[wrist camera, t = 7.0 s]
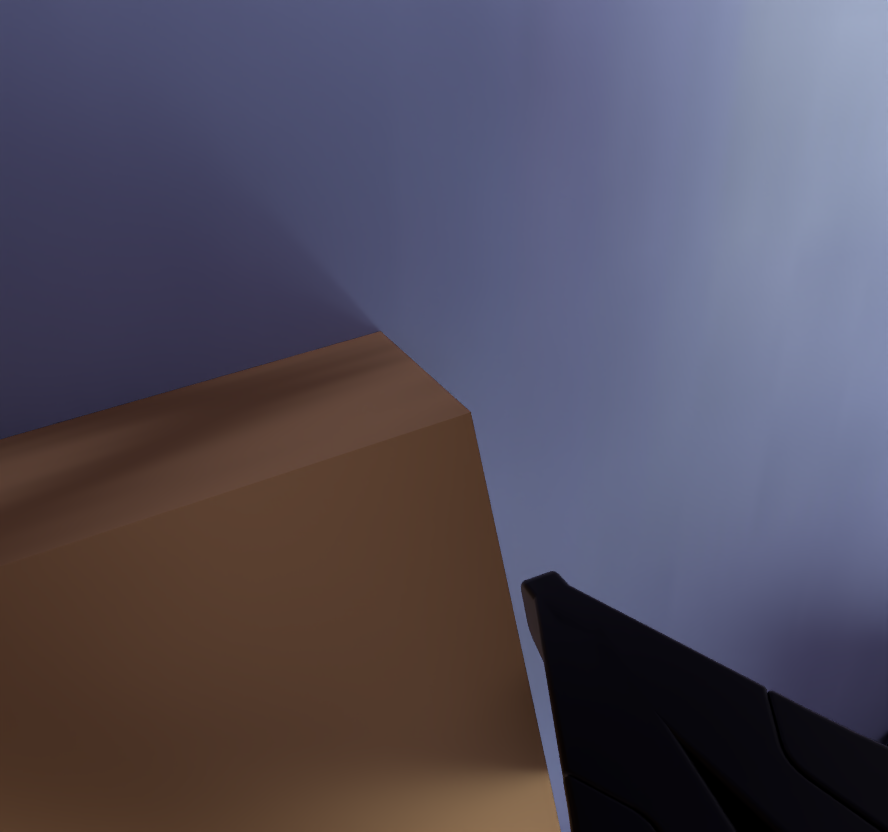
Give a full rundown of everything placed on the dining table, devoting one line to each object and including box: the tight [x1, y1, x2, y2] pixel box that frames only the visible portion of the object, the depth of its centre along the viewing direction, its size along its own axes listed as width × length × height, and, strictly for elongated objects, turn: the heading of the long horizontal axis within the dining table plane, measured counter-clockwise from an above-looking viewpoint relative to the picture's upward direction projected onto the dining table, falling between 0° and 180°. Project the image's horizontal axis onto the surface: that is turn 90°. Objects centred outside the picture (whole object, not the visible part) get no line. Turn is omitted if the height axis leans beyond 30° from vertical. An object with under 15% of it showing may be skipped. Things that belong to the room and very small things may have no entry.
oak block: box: [0, 331, 561, 832], centre depth 8 cm, size 8×10×4 cm
